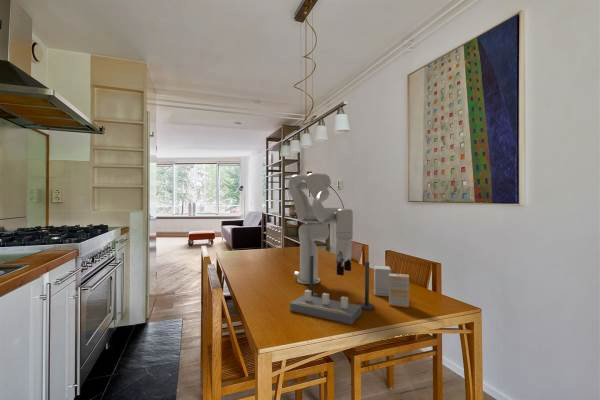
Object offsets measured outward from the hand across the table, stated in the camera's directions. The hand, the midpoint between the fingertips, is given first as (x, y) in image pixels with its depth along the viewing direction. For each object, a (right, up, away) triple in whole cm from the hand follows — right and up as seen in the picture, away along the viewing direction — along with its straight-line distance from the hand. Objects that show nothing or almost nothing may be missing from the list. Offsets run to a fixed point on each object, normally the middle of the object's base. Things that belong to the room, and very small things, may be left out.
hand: (344, 272), depth 136 cm
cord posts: (-4, -11, -6) cm, 13 cm away
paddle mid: (-10, -8, -18) cm, 22 cm away
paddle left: (-17, -8, -14) cm, 23 cm away
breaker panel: (-10, -11, -18) cm, 23 cm away
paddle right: (-3, -9, -21) cm, 23 cm away
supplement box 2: (+22, -12, -9) cm, 27 cm away
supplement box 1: (+19, -12, +6) cm, 23 cm away
